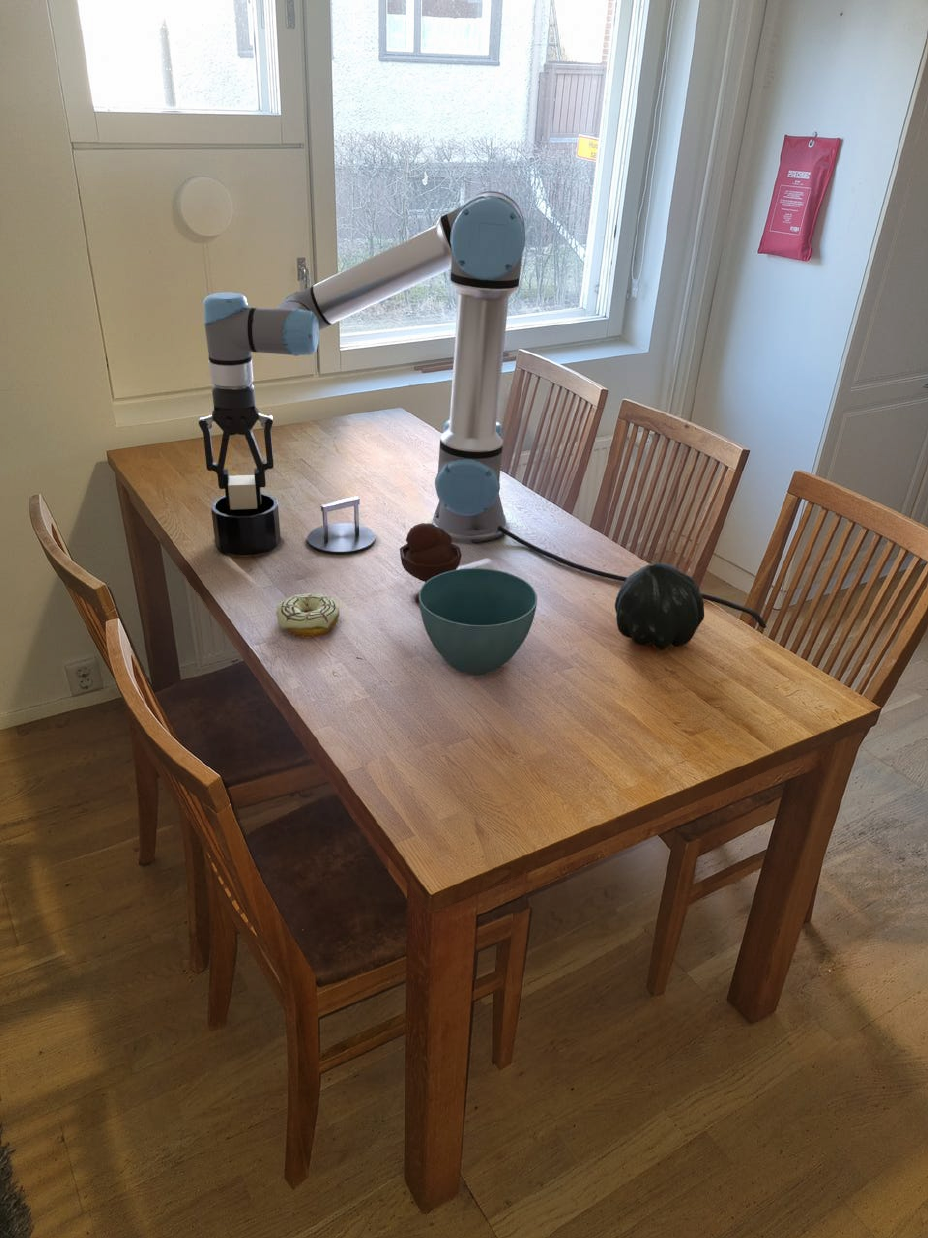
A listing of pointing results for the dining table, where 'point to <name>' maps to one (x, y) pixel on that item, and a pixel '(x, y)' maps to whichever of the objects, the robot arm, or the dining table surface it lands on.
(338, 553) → the lid
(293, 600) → the decorated donut
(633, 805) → the dining table surface
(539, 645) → the dining table surface
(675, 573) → the squash
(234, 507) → the block
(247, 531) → the pot
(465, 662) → the teal bowl
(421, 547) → the ice cream bowl
